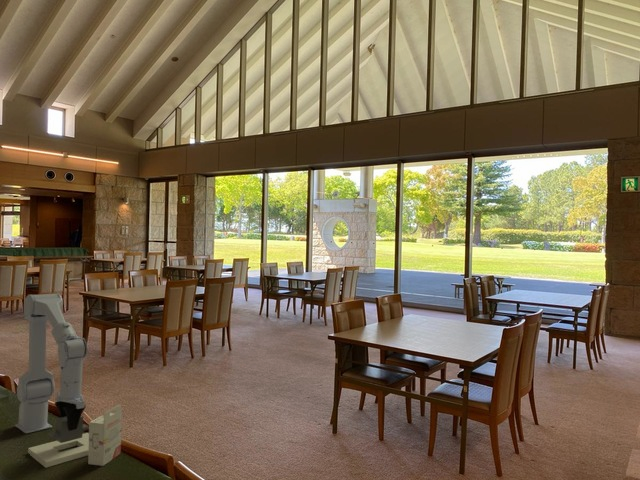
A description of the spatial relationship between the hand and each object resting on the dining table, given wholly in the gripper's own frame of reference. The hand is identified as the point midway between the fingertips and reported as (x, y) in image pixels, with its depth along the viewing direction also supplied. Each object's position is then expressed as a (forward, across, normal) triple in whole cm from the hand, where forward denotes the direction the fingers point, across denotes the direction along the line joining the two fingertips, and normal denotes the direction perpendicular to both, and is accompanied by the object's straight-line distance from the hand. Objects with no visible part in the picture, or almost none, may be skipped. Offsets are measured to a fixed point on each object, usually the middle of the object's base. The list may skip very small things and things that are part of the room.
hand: (69, 427), depth 145 cm
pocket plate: (+7, 0, 0) cm, 7 cm away
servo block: (+3, 0, 0) cm, 3 cm away
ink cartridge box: (+7, +12, +5) cm, 15 cm away
